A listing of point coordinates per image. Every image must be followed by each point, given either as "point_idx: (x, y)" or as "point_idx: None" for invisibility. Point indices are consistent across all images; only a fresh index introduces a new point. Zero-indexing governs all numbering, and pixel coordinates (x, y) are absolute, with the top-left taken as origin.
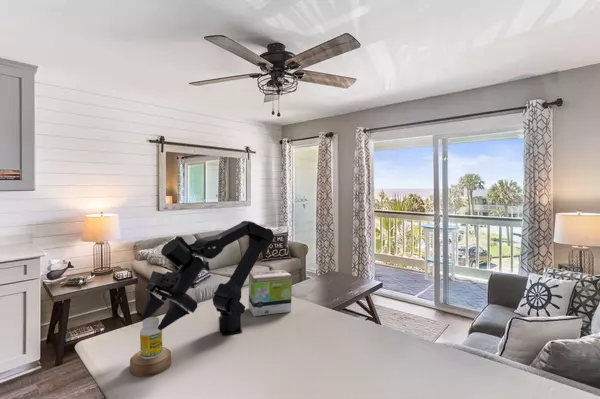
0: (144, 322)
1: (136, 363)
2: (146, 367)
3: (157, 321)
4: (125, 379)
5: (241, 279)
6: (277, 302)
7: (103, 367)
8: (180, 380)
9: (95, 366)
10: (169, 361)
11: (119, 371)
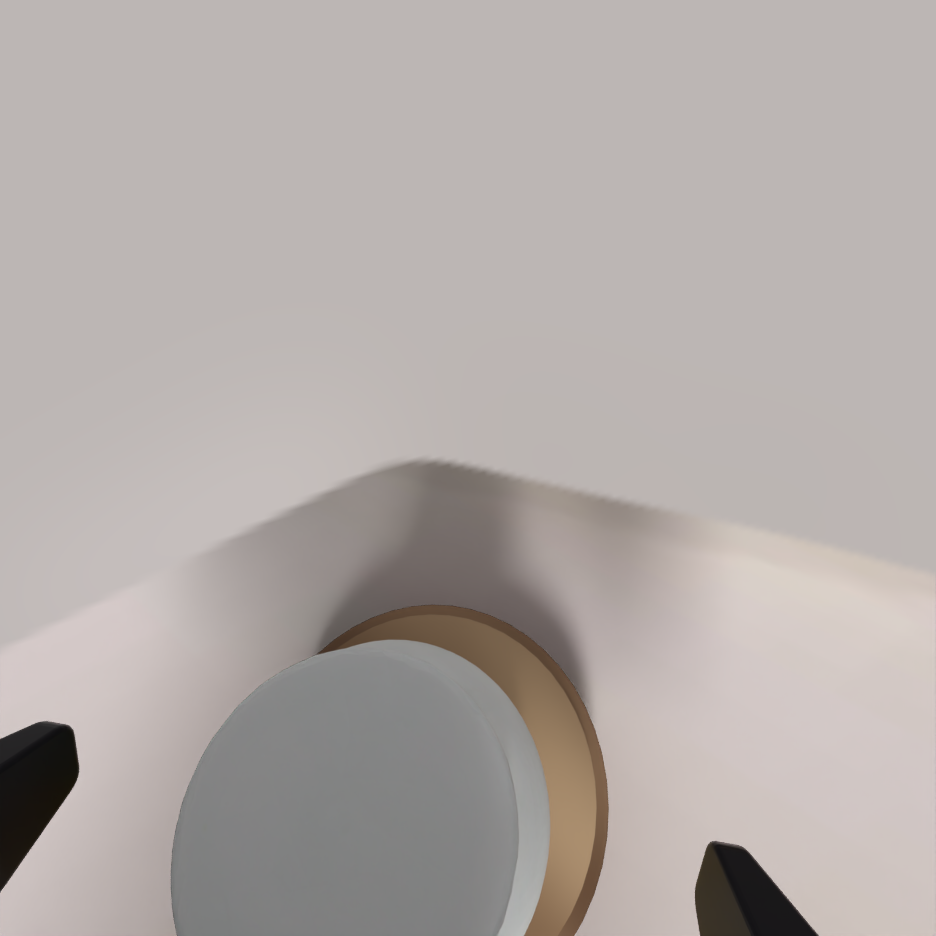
0: (357, 655)
1: (416, 617)
2: (327, 648)
3: (180, 890)
4: (446, 569)
5: None
6: None
7: (717, 576)
8: None
9: (774, 556)
10: None
11: (572, 603)
